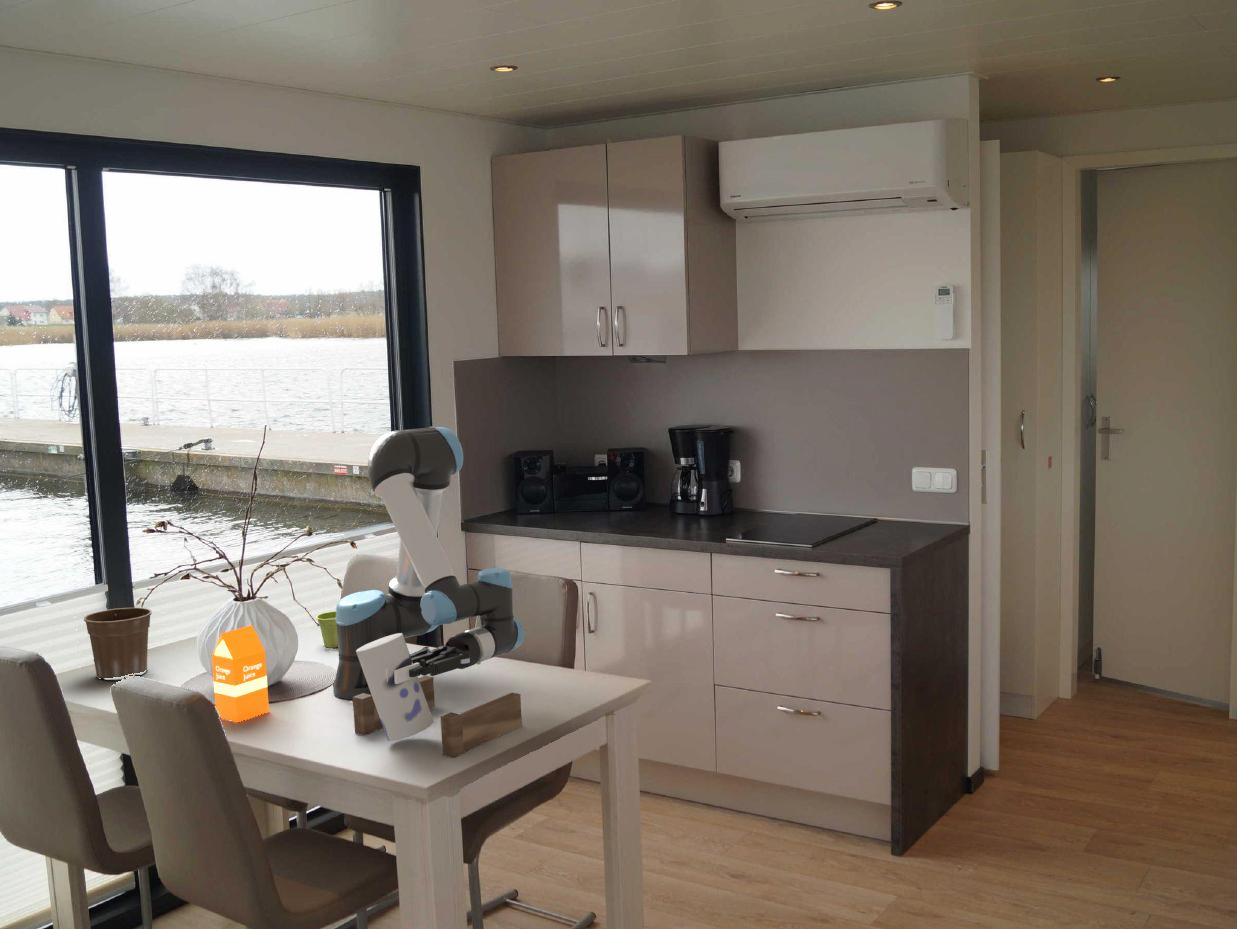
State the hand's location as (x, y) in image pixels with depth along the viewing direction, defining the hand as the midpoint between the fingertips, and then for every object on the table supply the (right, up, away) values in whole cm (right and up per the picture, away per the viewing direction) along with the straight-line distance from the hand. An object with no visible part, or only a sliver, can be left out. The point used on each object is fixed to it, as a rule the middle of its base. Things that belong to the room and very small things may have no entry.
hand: (391, 676), depth 230 cm
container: (+3, -13, +6) cm, 15 cm away
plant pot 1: (-83, -12, +67) cm, 107 cm away
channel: (+8, -14, +15) cm, 22 cm away
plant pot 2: (-33, -8, +88) cm, 95 cm away
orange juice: (-40, -15, +30) cm, 52 cm away
